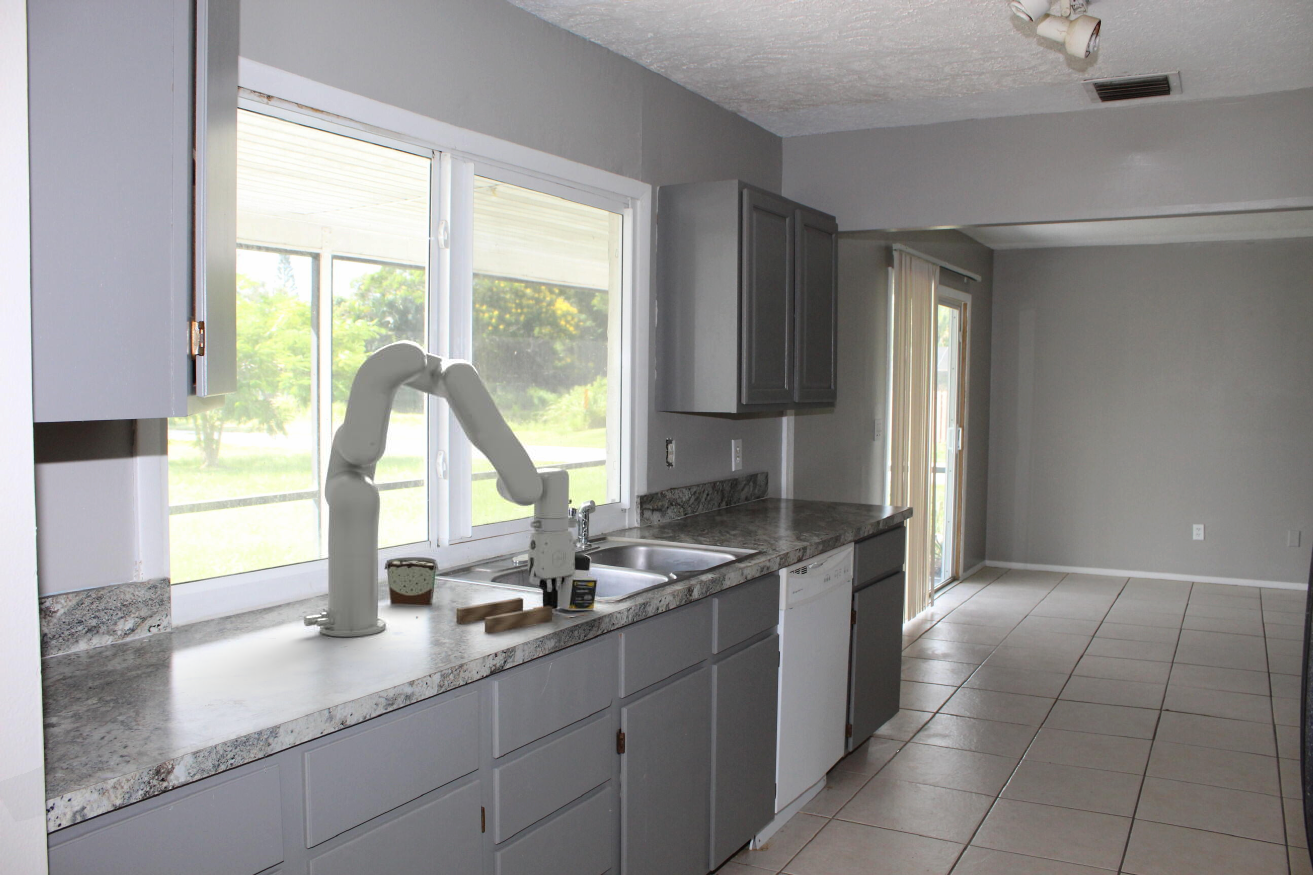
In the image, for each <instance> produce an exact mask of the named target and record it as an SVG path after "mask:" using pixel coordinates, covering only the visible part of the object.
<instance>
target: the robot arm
mask: <svg viewBox="0 0 1313 875" xmlns="http://www.w3.org/2000/svg"><path fill="white" fill-rule="evenodd" d="M402 386H404V387H406V388H409V389H413V390H416V391H419V392H421V393H425V394H429V395H431V396H436V397H438V398H443V399H445V401H446V403H447V404H448V407H449V408H450V409H451V410H452V412H453V414H454V416H455V417H456V420H457V422H458V424H459V425H460V427H461V428H462V430H463V432H464V434H465V436H466V437H467V439H468V441H469V442H470V443H471V444H472V445H473V446H474V448H476V449H477V450H478V451H480V453H482V454H483V456H484V457H485V458H486V459H487V460H488V462H490V463H491V465H492V467H493V468H494V470H495V471H496V473H497V475H498V476H497V478H496V483H495V484H496V485H495V486H496V491H497V493H498V494H499V496H500V497H502V498H503V499H504V500H506V501H507V502H510V503H513V504H516V505H518V506H522V507H529V506H532V505H533V521H530V524H529V526H530V528H531V529H533V531H531V534H530V538H529V539H530V540H529V546H528V553H527V574H528V576H529V579H528V580H529V581H528V583H529V584H532V585H537V586H538V587H539V589H540V590H541V591H542V606H543V607H546V606H550V607H553V610H557V609H558V608H559V607H558V590H560V588H561V585H562V583H563V582H564V577H565V576H570V575H572V574H573V573H574V572H575V553H576V552H575V544H574V536H573V532H572V530H571V529H569V514H570V513H569V511H570V508H569V504H570V503H569V502H570V501H569V500H570V499H569V498H570V496H569V495H570V476H569V475H570V474H569V472H568V471H567V470H566V469H564V468H556V467H548V468H546V467H545V468H540V469H537V468H536V466H535V464H534V463H533V461H532V459H531V456H530V455H529V454H528V452H527V451H526V449H525V448H524V446H523V445H522V443H521V442H520V440H519V439H518V437H517V436H516V435H515V433H514V431H513V430H512V429H511V427H510V425H509V424H508V423H507V422H506V420H505V419H504V416H503V415H502V414H501V412H500V410H499V408H498V406H497V405H496V403H495V401H494V399H493V398H492V396H491V394H490V392H489V390H488V389H487V387H486V385H485V383H484V381H483V379H482V378H481V376H480V374H479V372H478V371H477V369H476V367H474V365H472V363H470V362H469V361H467V360H465V359H450V358H446V357H442V356H438V355H435V354H433V353H429V352H427V351H425V350H424V349H423V347H422V346H421V345H419V344H418V343H417V342H414V341H411V340H400V341H396V342H393V343H391V344H388V345H386V346H385V345H384V346H382V347H381V348H379V349H377V350H376V351H374V352H373V353H372V354H371V355H370V356H368V357H367V358H366V359H365V360H364V361H363V363H362V364H361V365H360V366H359V368H358V369H357V370H356V373H355V376H354V378H353V380H352V383H351V387H350V391H349V397H348V400H347V404H346V410H345V415H344V420H343V423H342V424H341V425H340V426H338V428H337V430H336V431H335V433H334V436H333V439H332V440H333V441H332V445H331V450H330V456H329V461H328V467H327V471H326V478H325V483H324V484H325V486H324V498H325V501H326V503H327V505H328V532H327V534H328V536H327V537H328V538H327V539H328V540H327V549H328V550H327V553H328V554H327V555H328V563H327V564H328V566H327V568H328V569H327V571H328V573H327V575H328V576H327V578H328V579H327V580H328V583H327V584H328V585H327V586H328V588H327V589H328V590H327V591H328V595H327V596H328V600H327V601H328V602H327V603H328V604H327V605H328V607H324V608H323V609H322V611H323V612H320V613H319V614H315V615H313V614H312V615H307V616H304V617H303V624H304V627H312V626H316V627H319V632H320V633H321V634H323V635H326V636H331V637H340V638H342V637H343V638H345V637H346V638H347V637H348V638H349V637H350V638H351V637H362V636H363V637H364V636H369V635H373V634H377V633H380V632H382V631H384V630H385V629H386V627H387V623H386V621H385V620H384V619H382V618H379V596H378V595H379V520H380V513H381V512H380V509H381V500H380V499H381V498H380V493H379V489H378V487H377V485H376V483H375V482H374V481H375V474H376V468H377V464H378V462H379V461H380V460H381V459H382V457H383V456H384V454H385V451H386V447H387V437H388V430H389V425H390V418H391V413H392V408H393V403H394V401H395V400H394V399H395V397H396V395H397V392H398V391H399V390H400V389H401V387H402Z"/></svg>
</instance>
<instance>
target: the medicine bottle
mask: <svg viewBox="0 0 1313 875" xmlns="http://www.w3.org/2000/svg"><path fill="white" fill-rule="evenodd" d="M591 564H592V558H591V557H590V556H589V555H587V554H582V553H576V552H575V572H574V573H573V574H572V575H570V576H565V577H564V582H563V583H562V585H561V588H560V590H558V608H560V609H563V610H567V611H593V610H594V608H595V607H594V606H595V600H596V591H597V584H598V579H597V578H596V577H594V576H589V575H590V573H591V567H592V566H591Z"/></svg>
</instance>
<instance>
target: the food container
mask: <svg viewBox="0 0 1313 875" xmlns="http://www.w3.org/2000/svg"><path fill="white" fill-rule="evenodd" d="M384 564H385V565H384V570H386V571H387V582H388V591H389V592H388V594H389V602H390V605H391V606H409V607H411V606H413V607H432V606H433V602H434V601H433V600H434V590H435V580H436V574H437V573H436V572H439V570H440V569H439V563H438V562H437V560H436V559H435V558H431V557H424V556H423V557H421V556H420V557H419V556H408V557H407V556H405V557H397V558H390V559H387V560H386V563H384Z"/></svg>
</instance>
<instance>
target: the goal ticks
mask: <svg viewBox="0 0 1313 875" xmlns="http://www.w3.org/2000/svg"><path fill="white" fill-rule="evenodd" d="M540 607H543V605H541V606H535V607H533V609H535V608H540ZM586 614H589V615H590V613H589V612H586V613H580V614H576V615H577V616H578V617H581V616H580V615H584V616H587V615H586ZM565 619H571V618H570V617H569V616H565Z"/></svg>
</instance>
